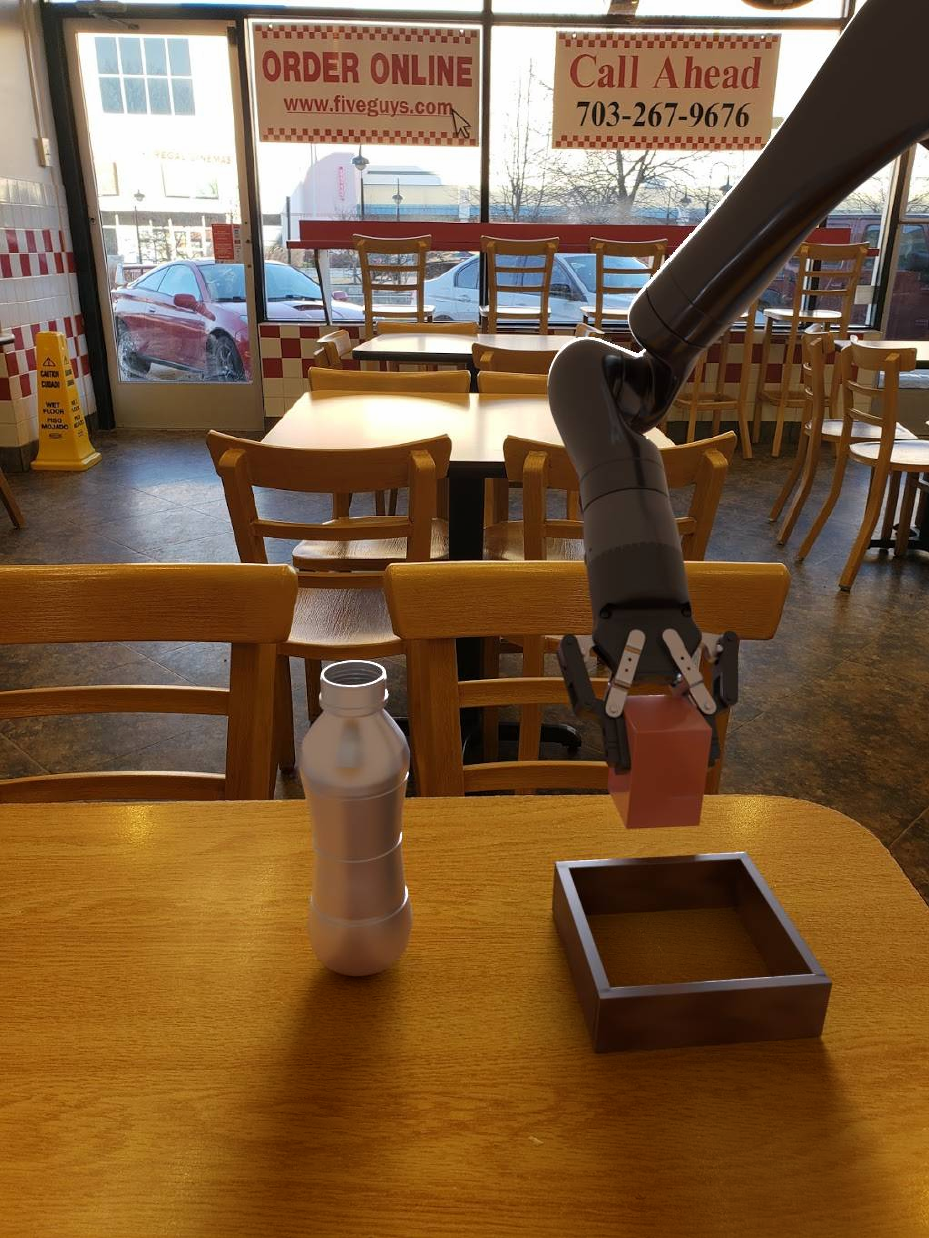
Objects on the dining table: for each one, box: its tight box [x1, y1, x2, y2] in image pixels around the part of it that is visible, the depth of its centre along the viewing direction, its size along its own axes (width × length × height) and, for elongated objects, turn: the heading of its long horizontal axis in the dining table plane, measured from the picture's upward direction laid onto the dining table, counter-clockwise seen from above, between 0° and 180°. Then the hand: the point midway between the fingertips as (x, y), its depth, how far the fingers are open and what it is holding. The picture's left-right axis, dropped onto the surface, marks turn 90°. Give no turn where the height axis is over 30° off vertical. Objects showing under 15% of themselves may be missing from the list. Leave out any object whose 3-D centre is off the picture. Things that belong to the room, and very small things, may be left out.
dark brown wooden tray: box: [551, 851, 833, 1054], centre depth 59 cm, size 14×13×4 cm
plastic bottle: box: [297, 660, 414, 977], centre depth 57 cm, size 6×7×20 cm
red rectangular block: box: [607, 694, 712, 830], centre depth 69 cm, size 6×6×8 cm
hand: (665, 770), depth 67 cm, fingers closed on red rectangular block, 5 cm apart
